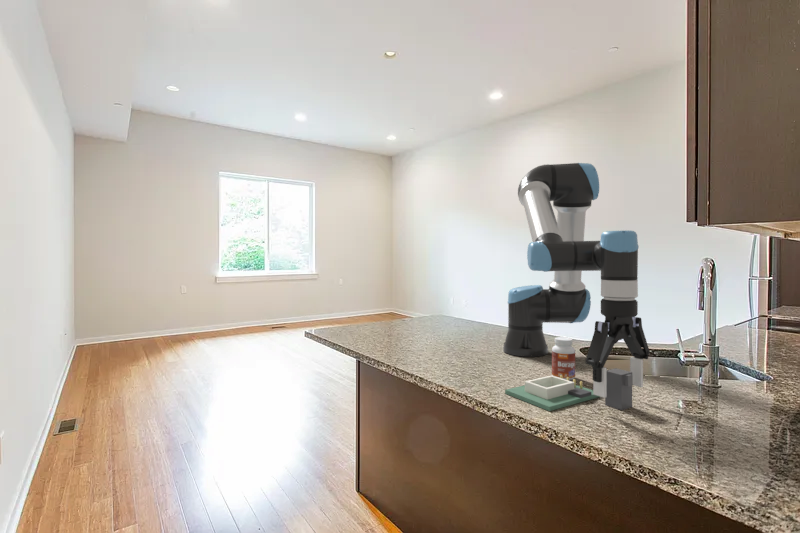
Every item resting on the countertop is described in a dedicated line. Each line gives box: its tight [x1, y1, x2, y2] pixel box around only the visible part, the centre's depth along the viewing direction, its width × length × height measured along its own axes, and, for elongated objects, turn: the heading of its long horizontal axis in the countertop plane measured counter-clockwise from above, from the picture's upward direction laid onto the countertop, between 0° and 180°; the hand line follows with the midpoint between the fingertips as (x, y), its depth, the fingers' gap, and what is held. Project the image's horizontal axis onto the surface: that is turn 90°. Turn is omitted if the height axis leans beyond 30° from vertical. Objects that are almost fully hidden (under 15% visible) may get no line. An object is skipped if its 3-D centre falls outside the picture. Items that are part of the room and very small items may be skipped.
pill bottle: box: [551, 336, 576, 381], centre depth 121 cm, size 6×6×11 cm
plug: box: [604, 367, 634, 411], centre depth 98 cm, size 4×5×8 cm
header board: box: [504, 374, 601, 412], centre depth 106 cm, size 18×14×4 cm
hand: (618, 390), depth 98 cm, fingers open, 13 cm apart
